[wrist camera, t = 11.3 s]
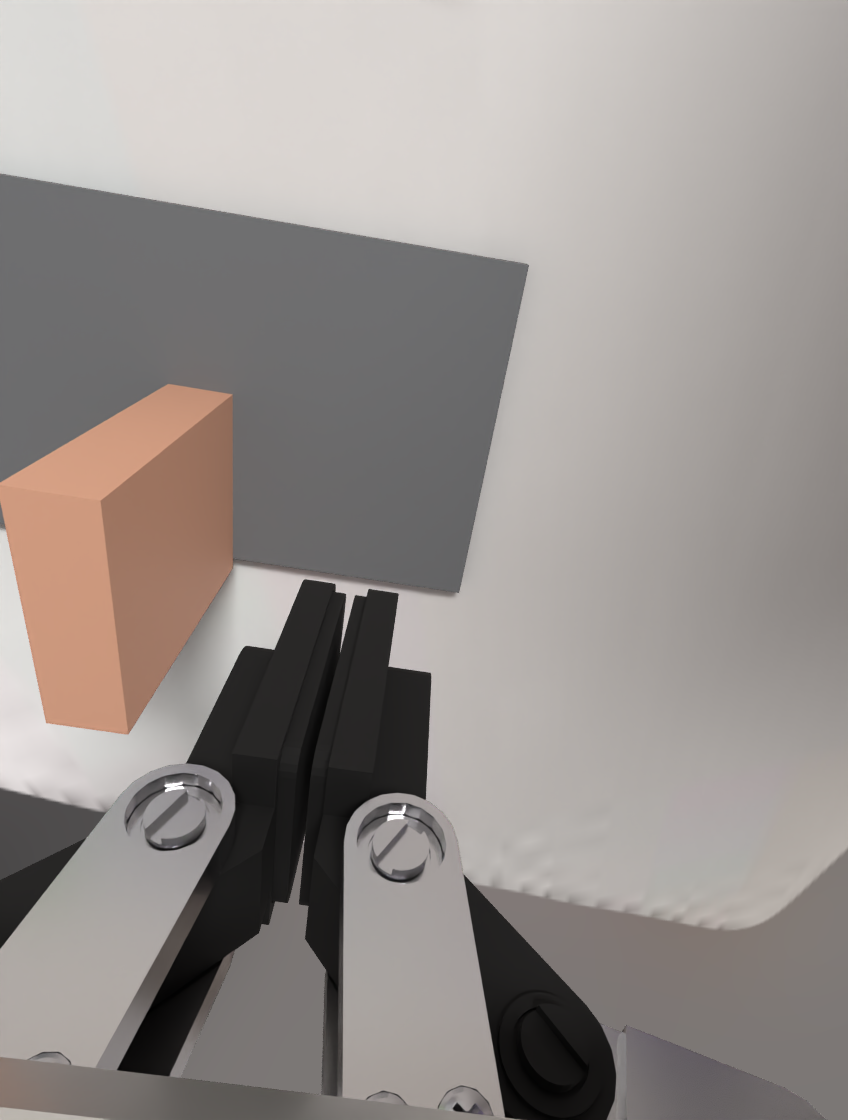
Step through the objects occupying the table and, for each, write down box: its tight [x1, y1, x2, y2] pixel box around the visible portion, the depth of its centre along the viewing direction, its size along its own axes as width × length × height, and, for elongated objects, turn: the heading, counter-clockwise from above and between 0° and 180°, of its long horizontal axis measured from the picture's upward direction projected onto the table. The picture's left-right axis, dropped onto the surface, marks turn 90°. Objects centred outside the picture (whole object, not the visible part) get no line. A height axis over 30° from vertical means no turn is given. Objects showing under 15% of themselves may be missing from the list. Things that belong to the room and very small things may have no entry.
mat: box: [0, 174, 529, 593], centre depth 21 cm, size 20×12×1 cm, turn 81°
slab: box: [0, 384, 233, 734], centre depth 19 cm, size 2×9×7 cm
